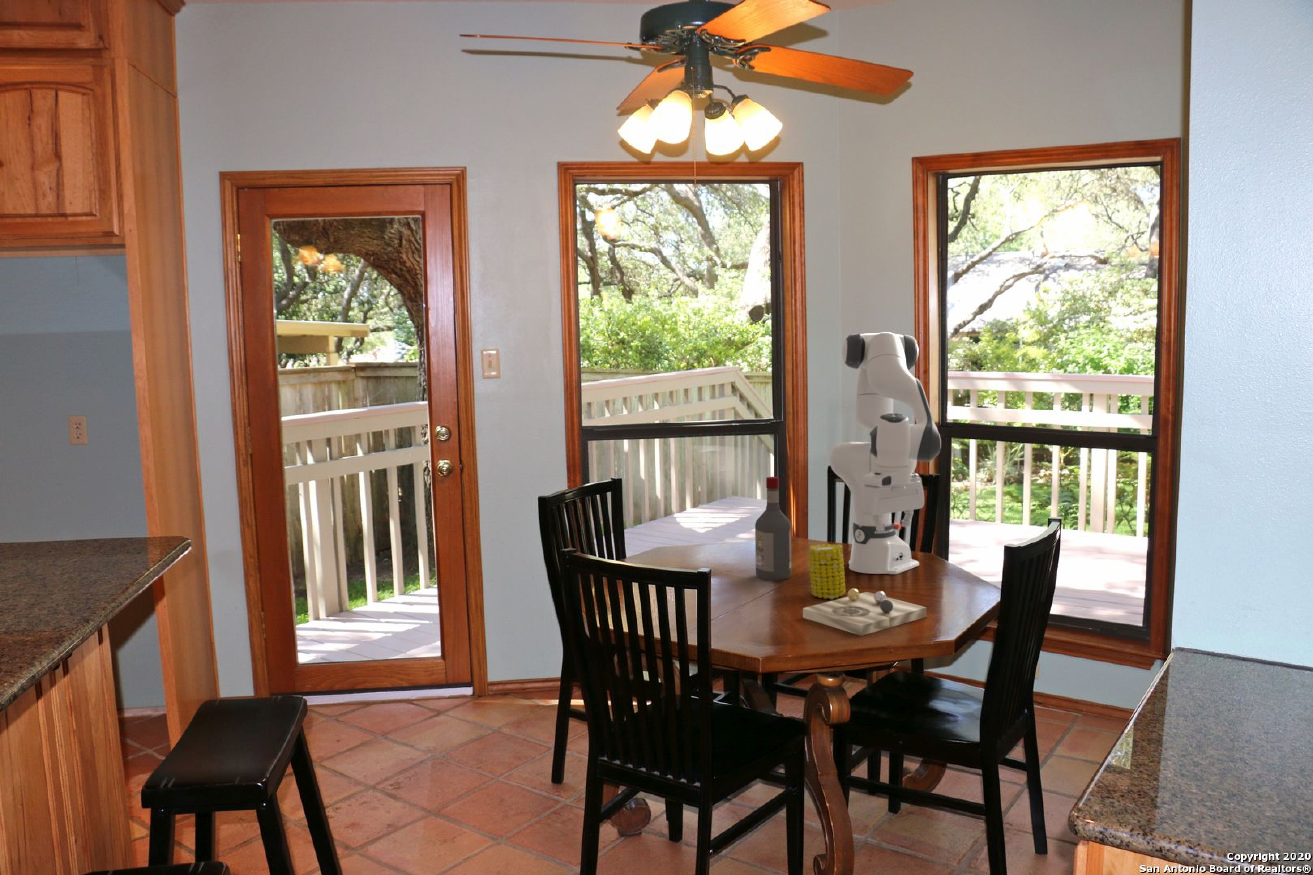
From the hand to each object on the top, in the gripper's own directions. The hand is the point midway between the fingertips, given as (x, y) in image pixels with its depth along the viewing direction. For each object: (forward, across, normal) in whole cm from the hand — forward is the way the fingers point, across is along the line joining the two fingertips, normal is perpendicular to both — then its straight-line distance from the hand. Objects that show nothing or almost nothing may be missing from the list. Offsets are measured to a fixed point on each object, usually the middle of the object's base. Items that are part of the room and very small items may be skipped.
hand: (893, 528), depth 265 cm
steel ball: (+17, +6, +1) cm, 18 cm away
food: (+21, +5, -20) cm, 29 cm away
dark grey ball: (+17, +11, +8) cm, 22 cm away
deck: (+21, +12, +2) cm, 25 cm away
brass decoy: (+17, +9, -5) cm, 20 cm away
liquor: (+21, +3, -45) cm, 50 cm away
